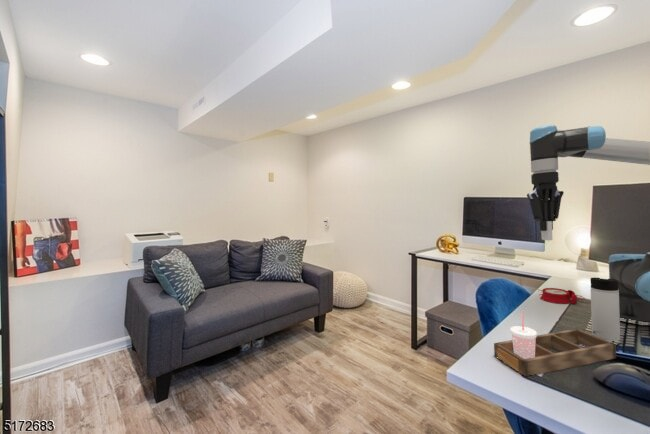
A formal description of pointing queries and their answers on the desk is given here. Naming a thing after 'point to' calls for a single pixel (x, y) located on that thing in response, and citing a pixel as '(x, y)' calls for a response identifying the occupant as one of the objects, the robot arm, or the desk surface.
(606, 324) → the travel mug
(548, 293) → the alarm clock
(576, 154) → the robot arm
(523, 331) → the beverage cup
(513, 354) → the walnut rack
